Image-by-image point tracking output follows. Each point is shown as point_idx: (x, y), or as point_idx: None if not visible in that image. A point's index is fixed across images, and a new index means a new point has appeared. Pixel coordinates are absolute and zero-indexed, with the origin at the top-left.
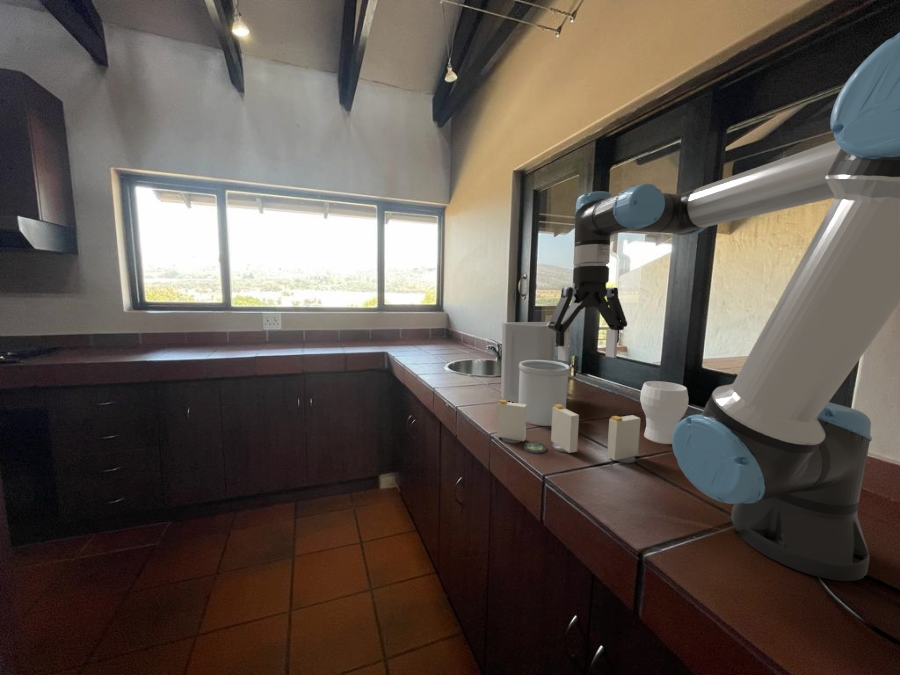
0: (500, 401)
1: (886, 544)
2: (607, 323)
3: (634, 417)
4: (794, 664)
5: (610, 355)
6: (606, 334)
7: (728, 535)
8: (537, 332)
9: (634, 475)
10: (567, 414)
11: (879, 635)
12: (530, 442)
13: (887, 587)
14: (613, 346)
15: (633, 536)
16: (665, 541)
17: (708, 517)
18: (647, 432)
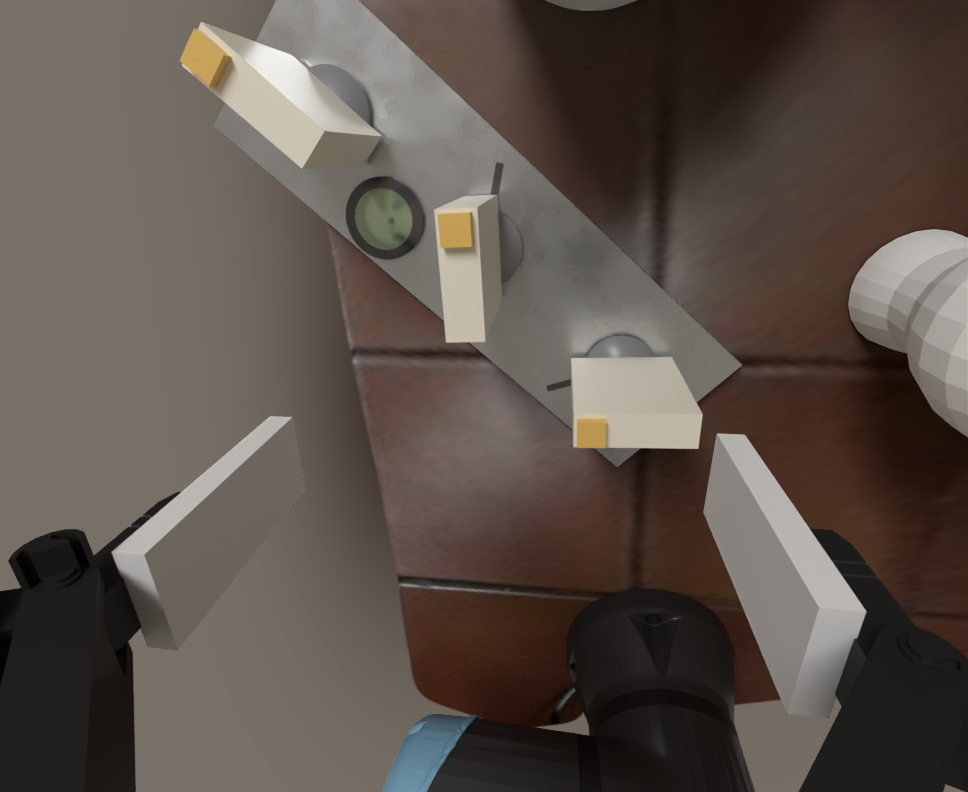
0: (187, 66)
1: None
2: (847, 700)
3: (683, 435)
4: (430, 699)
5: (712, 489)
6: (788, 563)
7: (566, 606)
8: None
9: None
10: (444, 319)
11: (548, 720)
12: (384, 180)
13: None
14: (731, 564)
15: (411, 557)
16: (452, 579)
17: (584, 573)
18: (881, 281)
